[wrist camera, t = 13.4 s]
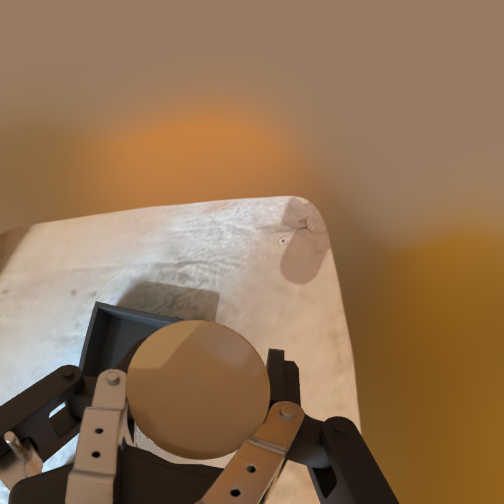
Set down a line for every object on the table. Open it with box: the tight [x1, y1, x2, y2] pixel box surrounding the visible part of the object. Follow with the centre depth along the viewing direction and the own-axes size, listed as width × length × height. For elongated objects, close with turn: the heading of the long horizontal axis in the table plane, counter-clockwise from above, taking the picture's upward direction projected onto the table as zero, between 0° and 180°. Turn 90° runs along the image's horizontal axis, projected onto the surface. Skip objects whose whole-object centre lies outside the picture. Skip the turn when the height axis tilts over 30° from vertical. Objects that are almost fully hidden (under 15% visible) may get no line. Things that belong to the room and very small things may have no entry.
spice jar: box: [126, 320, 271, 460], centre depth 12 cm, size 5×5×8 cm
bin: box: [78, 301, 186, 377], centre depth 27 cm, size 11×11×4 cm
